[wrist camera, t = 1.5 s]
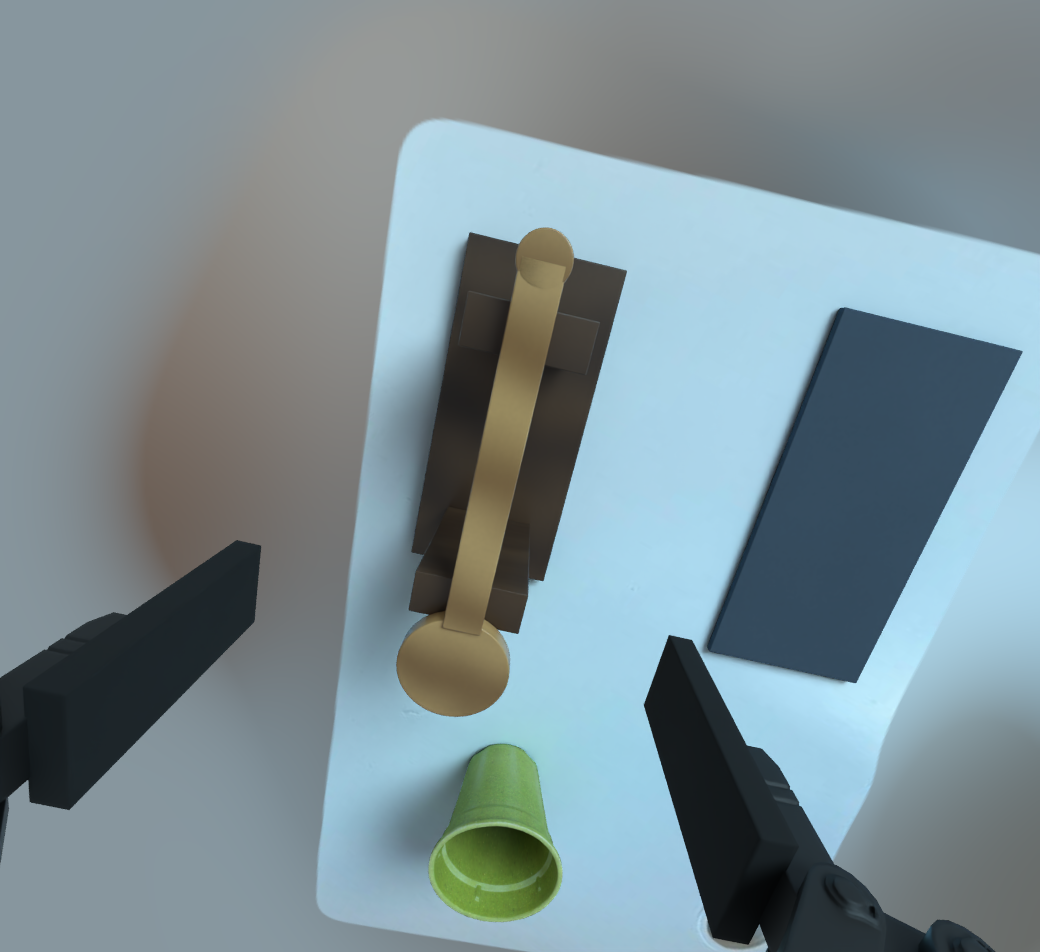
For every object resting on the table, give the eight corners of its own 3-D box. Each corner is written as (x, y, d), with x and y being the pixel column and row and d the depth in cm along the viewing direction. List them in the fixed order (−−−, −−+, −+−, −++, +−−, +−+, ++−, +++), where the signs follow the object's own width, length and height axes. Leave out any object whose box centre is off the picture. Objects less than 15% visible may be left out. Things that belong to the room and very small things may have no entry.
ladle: (481, 216, 21) (478, 210, 20) (618, 250, 21) (623, 245, 20) (393, 691, 28) (387, 707, 27) (497, 713, 28) (495, 730, 27)
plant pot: (450, 721, 42) (429, 818, 33) (562, 730, 42) (569, 830, 33) (447, 806, 44) (426, 916, 36) (551, 815, 44) (555, 928, 36)
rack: (471, 235, 31) (438, 184, 21) (624, 272, 31) (669, 241, 21) (414, 546, 37) (366, 631, 27) (543, 575, 38) (546, 670, 27)
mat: (839, 307, 32) (845, 307, 31) (1014, 350, 32) (1023, 351, 32) (706, 646, 39) (709, 651, 38) (851, 678, 39) (856, 683, 39)
